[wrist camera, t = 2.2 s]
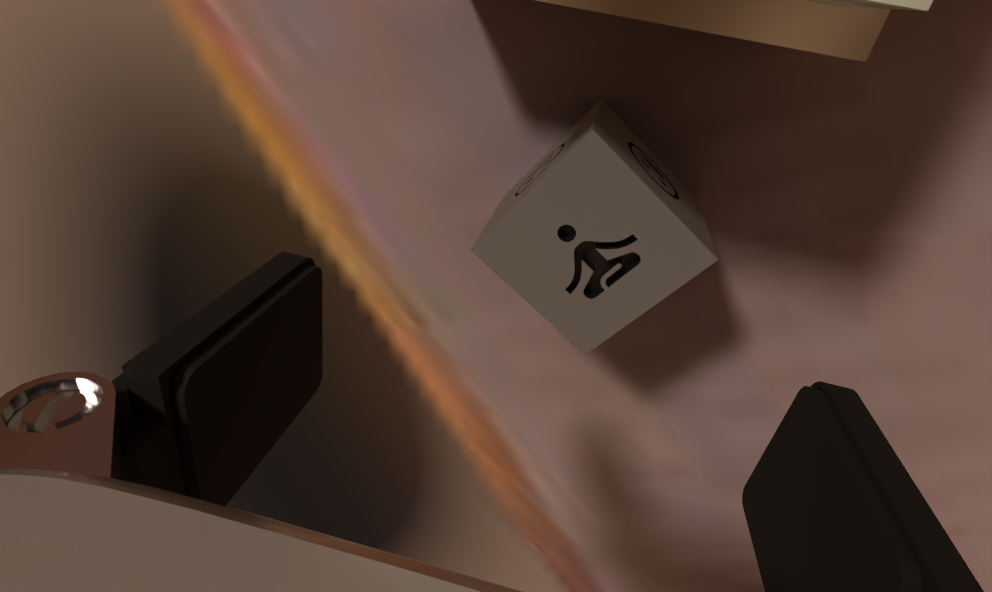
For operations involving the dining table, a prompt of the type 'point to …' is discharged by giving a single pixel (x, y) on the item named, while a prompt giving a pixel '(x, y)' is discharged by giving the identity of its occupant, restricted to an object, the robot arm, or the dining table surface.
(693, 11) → the cream layered block
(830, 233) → the dining table surface
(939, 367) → the dining table surface
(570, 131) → the dice cube
